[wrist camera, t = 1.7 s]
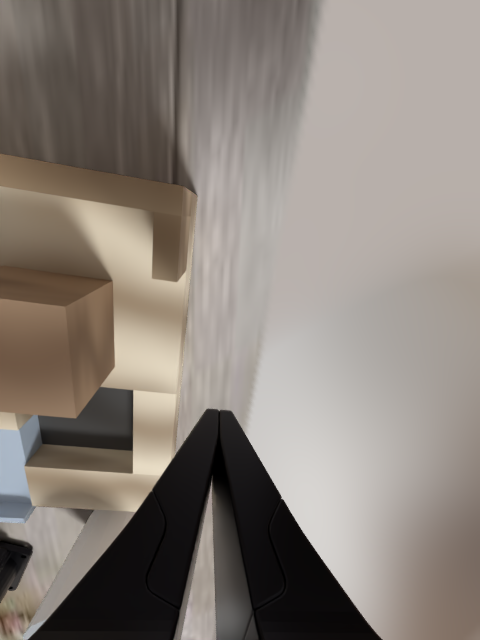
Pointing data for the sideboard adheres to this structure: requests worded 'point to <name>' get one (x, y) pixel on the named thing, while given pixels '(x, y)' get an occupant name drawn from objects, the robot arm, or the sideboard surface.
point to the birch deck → (129, 322)
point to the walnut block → (53, 341)
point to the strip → (17, 470)
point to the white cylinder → (80, 560)
